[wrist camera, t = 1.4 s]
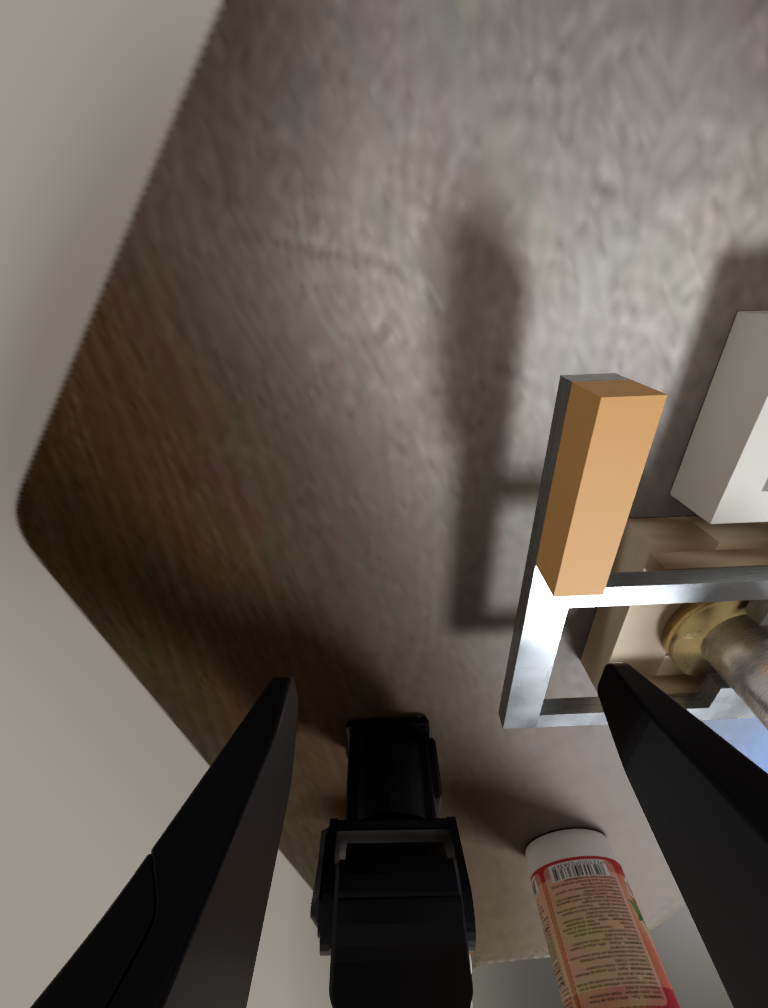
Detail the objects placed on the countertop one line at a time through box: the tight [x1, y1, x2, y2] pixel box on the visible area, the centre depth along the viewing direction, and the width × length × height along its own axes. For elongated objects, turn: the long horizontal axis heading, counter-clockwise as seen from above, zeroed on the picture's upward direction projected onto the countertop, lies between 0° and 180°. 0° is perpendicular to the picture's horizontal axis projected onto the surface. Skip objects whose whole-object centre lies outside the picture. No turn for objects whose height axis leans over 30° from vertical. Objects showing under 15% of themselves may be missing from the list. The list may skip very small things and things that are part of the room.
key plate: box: [499, 373, 768, 729], centre depth 18 cm, size 18×20×3 cm
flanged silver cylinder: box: [662, 600, 768, 730], centre depth 21 cm, size 7×7×11 cm
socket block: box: [581, 516, 768, 694], centre depth 24 cm, size 12×12×4 cm
